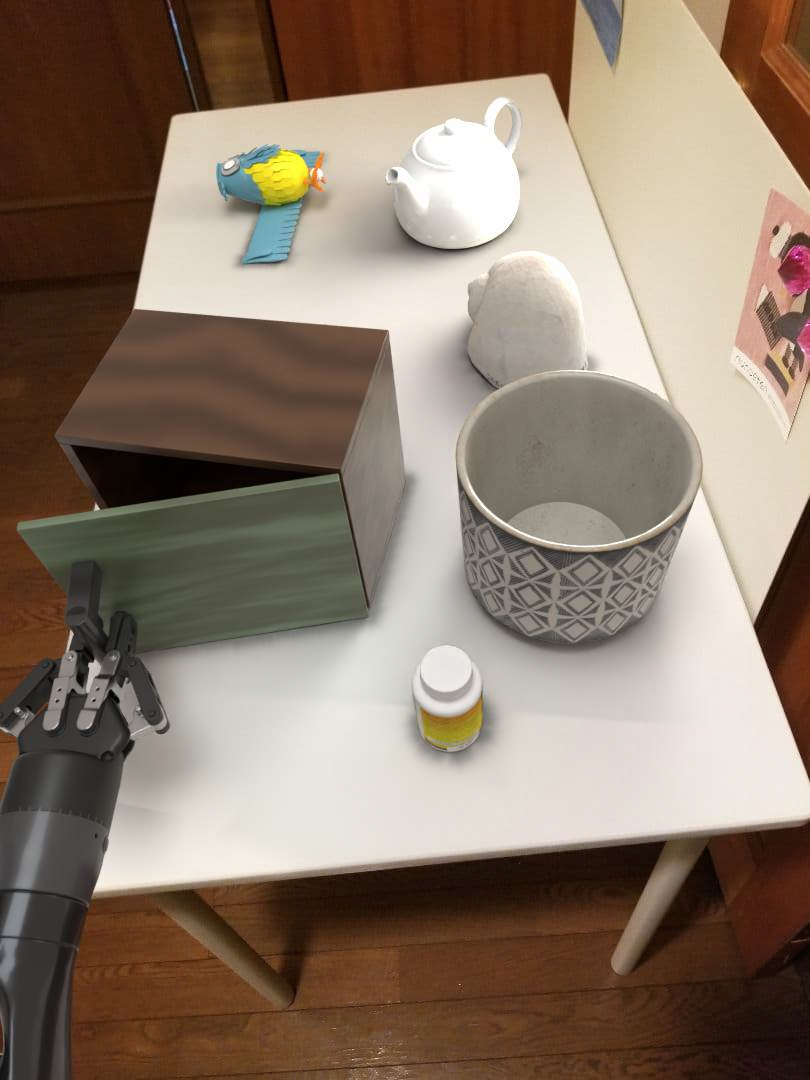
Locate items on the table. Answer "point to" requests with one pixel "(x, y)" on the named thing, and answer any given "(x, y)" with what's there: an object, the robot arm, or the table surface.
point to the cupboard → (243, 416)
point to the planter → (573, 501)
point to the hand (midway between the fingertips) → (109, 616)
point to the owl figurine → (271, 194)
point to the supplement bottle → (448, 698)
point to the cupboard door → (205, 564)
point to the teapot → (458, 182)
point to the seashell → (525, 319)
